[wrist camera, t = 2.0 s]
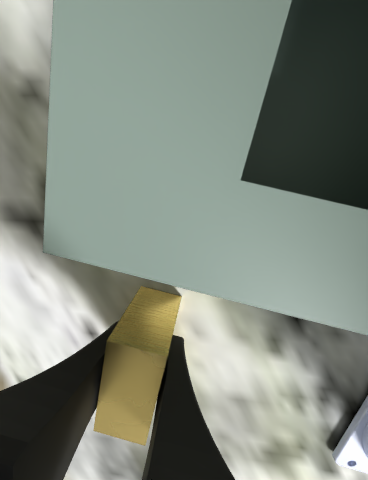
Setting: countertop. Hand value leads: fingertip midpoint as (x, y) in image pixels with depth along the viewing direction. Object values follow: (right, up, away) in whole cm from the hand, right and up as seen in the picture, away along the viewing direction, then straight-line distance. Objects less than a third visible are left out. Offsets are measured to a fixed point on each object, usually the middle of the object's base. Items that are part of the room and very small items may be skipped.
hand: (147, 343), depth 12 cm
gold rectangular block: (0, 0, +1) cm, 1 cm away
